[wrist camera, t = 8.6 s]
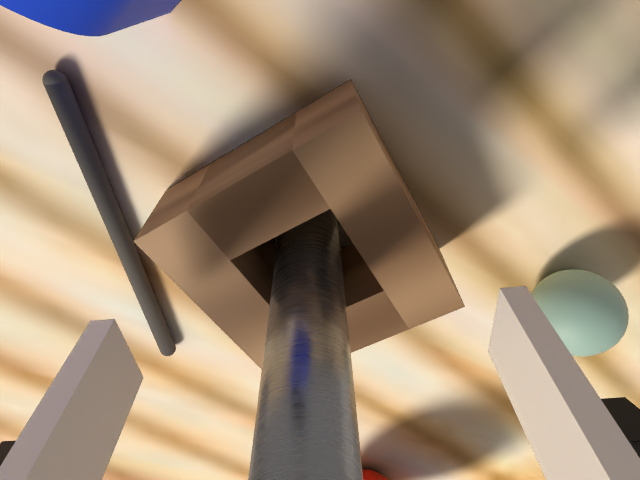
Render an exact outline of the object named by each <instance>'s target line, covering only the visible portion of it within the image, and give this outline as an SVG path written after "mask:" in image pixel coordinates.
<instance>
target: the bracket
mask: <svg viewBox="0 0 640 480" xmlns="http://www.w3.org/2000/svg"><path fill="white" fill-rule="evenodd" d="M180 1H181V0H0V5H1V6H3V7H5V8H7V9H9V10H11V11H14V12H16V13H18V14H20V15H22V16H25V17H27V18H29V19H31V20H34V21H36V22H39V23H41V24H44V25H46V26H49V27H52V28H55V29H58V30H61V31H65V32H69V33H73V34H77V35H84V36H102V35H107V34H110V33H113V32H115V31H118V30H121V29H124V28H127V27H130V26H133V25H136V24H139V23H141V22H144V21H147V20H150V19H153V18H156V17H159V16H162V15H165V14H168V13H170V12H171V11H172V10H173V9H174V8H175V7H176V6H177V4H178V3H179V2H180Z"/></svg>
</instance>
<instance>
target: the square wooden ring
mask: <svg viewBox="0 0 640 480" xmlns="http://www.w3.org/2000/svg"><path fill="white" fill-rule="evenodd" d="M329 209H331V210H332V212H333V213H334V215H335V216H336V218H337V219H338V221H339V222H340V224H341V225H342V227H343V229H344V230H345V232H346V233H347V235H348V236H349V238H350V239H351V241H352V242H353V244H352V245H350V246H347V247H345V248H343V249H341V260H342V271H343V281H344V291H345V301H346V311H347V321H348V331H349V341H350V352H354V351H356V350H359V349H361V348H364V347H366V346H369V345H371V344H374V343H376V342H379V341H381V340H384V339H386V338H389V337H391V336H393V335H396V334H398V333H401V332H403V331H406V330H408V329H411V328H413V327H416V326H418V325H421V324H423V323H426V322H428V321H431V320H433V319H436V318H438V317H440V316H443V315H445V314H448V313H450V312H453V311H455V310H458V309H460V308H463V307H465V306H464V304H463V301H462V299H461V297H460V295H459V292H458V290H457V288H456V286H455V283H454V281H453V279H452V277H451V274H450V272H449V270H448V268H447V265H446V263H445V261H444V259H443V256H442V254H441V252H440V250H439V248H438V246H437V244H436V242H435V240H434V238H433V236H432V234H431V232H430V230H429V228H428V226H427V225H426V223H425V221H424V219H423V217H422V215H421V213H420V211H419V209H418V207H417V205H416V203H415V201H414V200H413V198H412V196H411V194H410V192H409V190H408V188H407V186H406V184H405V182H404V180H403V178H402V177H401V175H400V173H399V171H398V169H397V167H396V165H395V163H394V161H393V159H392V157H391V155H390V153H389V152H388V150H387V148H386V146H385V144H384V142H383V140H382V138H381V136H380V134H379V132H378V130H377V128H376V127H375V125H374V123H373V121H372V119H371V117H370V115H369V113H368V111H367V109H366V107H365V105H364V104H363V102H362V100H361V98H360V96H359V94H358V92H357V90H356V88H355V86H354V84H353V82H352V80H349V81H347V82H346V83H344V84H342V85H341V86H339V87H337V88H336V89H334V90H332V91H331V92H329V93H327V94H326V95H324V96H322V97H321V98H319V99H317V100H316V101H314V102H312V103H311V104H309V105H307V106H306V107H304V108H302V109H301V110H299V111H297V112H296V113H294V114H292V115H291V116H289V117H287V118H286V119H284V120H282V121H281V122H279V123H277V124H276V125H274V126H272V127H271V128H269V129H267V130H266V131H264V132H262V133H261V134H259V135H257V136H256V137H254V138H252V139H251V140H249V141H247V142H246V143H244V144H242V145H241V146H239V147H237V148H236V149H234V150H232V151H231V152H229V153H227V154H226V155H224V156H222V157H221V158H219V159H217V160H216V161H214V162H212V163H211V164H209V165H207V166H206V167H204V168H202V169H201V170H199V171H197V172H196V173H194V174H192V175H191V176H189V177H187V178H186V179H184V180H182V181H181V182H179V183H177V184H176V185H174V186H172V187H171V188H169V189H167V190H166V191H165V193H164V194H163V196H162V198H161V199H160V201H159V202H158V204H157V205H156V207H155V208H154V210H153V212H152V213H151V215H150V216H149V218H148V219H147V221H146V222H145V224H144V226H143V227H142V229H141V230H140V232H139V233H138V235H137V236H136V238H135V240H134V241H133V242H134V243H135V244H136V245H137V246H138V247H139V248H140V249H141V250H142V251H143V252H144V253H145V254H146V255H147V256H148V257H149V258H150V259H151V260H152V261H153V262H154V263H155V264H156V265H157V266H158V267H159V268H160V269H162V270H163V271H164V272H165V273H166V274H167V275H168V276H169V277H170V278H171V279H172V280H173V281H174V282H175V283H176V284H177V285H178V286H179V287H180V288H181V289H182V290H183V291H184V292H185V293H186V294H187V295H188V296H189V297H190V298H191V299H192V300H193V301H194V302H195V303H196V304H197V305H198V306H199V307H200V308H201V309H202V310H203V311H204V312H205V313H206V314H207V315H208V316H209V317H210V318H211V319H212V320H213V321H214V322H215V323H216V324H217V325H218V326H219V327H220V328H221V329H222V330H223V331H224V332H225V333H226V334H227V335H228V336H229V337H230V338H231V339H232V340H233V341H234V342H235V343H236V344H237V345H238V346H239V347H240V348H241V349H242V350H243V351H244V352H245V353H246V354H247V355H248V356H249V357H250V358H251V359H252V360H253V361H254V362H255V363H256V364H257V365H258V366H259V367H260V368H261V369H262V364H263V356H264V348H265V340H266V332H267V324H268V315H269V307H270V299H271V291H272V283H273V274H274V266H275V258H276V250H277V248H276V247H275V245H274V244H273V243H272V241H271V239H272V238H274V237H276V236H278V235H280V234H282V233H284V232H286V231H288V230H290V229H292V228H294V227H296V226H298V225H300V224H302V223H304V222H305V221H307V220H309V219H311V218H313V217H315V216H317V215H319V214H321V213H323V212H325V211H327V210H329Z"/></svg>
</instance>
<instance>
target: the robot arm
mask: <svg viewBox="0 0 640 480" xmlns="http://www.w3.org/2000/svg"><path fill="white" fill-rule="evenodd" d="M488 353H489V355H490V357H491V359H492V362H493V364H494V366H495V368H496V370H497V373H498V375H499V377H500V379H501V381H502V384H503V386H504V388H505V390H506V392H507V395H508V397H509V399H510V401H511V404H512V406H513V408H514V410H515V412H516V415H517V417H518V419H519V421H520V423H521V426H522V428H523V430H524V432H525V435H526V437H527V439H528V441H529V443H530V446H531V448H532V450H533V452H534V454H535V457H536V459H537V461H538V463H539V465H540V468H541V470H542V472H543V474H544V477H545V479H546V480H640V409H639V408H638V407H636V406H635V405H634V404H633V403H631V402H630V401H629V400H628V399H626V398H625V397H621V398H607V399H600V397H599V396H598V394H597V393H596V391H595V390H594V388H593V387H592V385H591V384H590V382H589V381H588V379H587V378H586V376H585V375H584V373H583V372H582V370H581V369H580V367H579V366H578V364H577V363H576V361H575V360H574V358H573V357H572V355H571V354H570V352H569V350H568V349H567V347H566V346H565V344H564V343H563V341H562V340H561V338H560V337H559V335H558V334H557V332H556V331H555V329H554V328H553V326H552V325H551V323H550V322H549V320H548V319H547V317H546V316H545V314H544V313H543V311H542V310H541V308H540V307H539V305H538V304H537V302H536V301H535V299H534V298H533V296H532V295H531V293H530V291H529V290H528V288H527V287H526V286H520V287H507V288H500V290H499V295H498V300H497V306H496V311H495V317H494V322H493V327H492V333H491V338H490V344H489V349H488ZM142 380H143V375H142V373H141V371H140V369H139V367H138V365H137V363H136V361H135V359H134V357H133V355H132V353H131V351H130V349H129V347H128V345H127V343H126V341H125V339H124V337H123V335H122V333H121V331H120V329H119V327H118V325H117V323H116V321H115V319H108V320H95V321H90V322H89V324H88V326H87V327H86V329H85V330H84V332H83V334H82V335H81V337H80V338H79V340H78V342H77V343H76V345H75V346H74V348H73V350H72V351H71V353H70V355H69V356H68V358H67V359H66V361H65V363H64V364H63V366H62V367H61V369H60V371H59V372H58V374H57V376H56V377H55V379H54V380H53V382H52V384H51V385H50V387H49V388H48V390H47V392H46V393H45V395H44V397H43V398H42V400H41V401H40V403H39V405H38V406H37V408H36V409H35V411H34V413H33V414H32V416H31V418H30V419H29V421H28V422H27V424H26V426H25V427H24V429H23V430H22V432H21V434H20V435H19V437H18V439H17V440H16V441H3V442H1V443H0V480H102V478H103V475H104V473H105V470H106V468H107V466H108V463H109V461H110V458H111V456H112V453H113V451H114V448H115V446H116V443H117V441H118V439H119V436H120V434H121V431H122V429H123V426H124V424H125V421H126V419H127V416H128V414H129V412H130V409H131V407H132V404H133V402H134V399H135V397H136V394H137V392H138V389H139V387H140V384H141V382H142Z"/></svg>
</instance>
